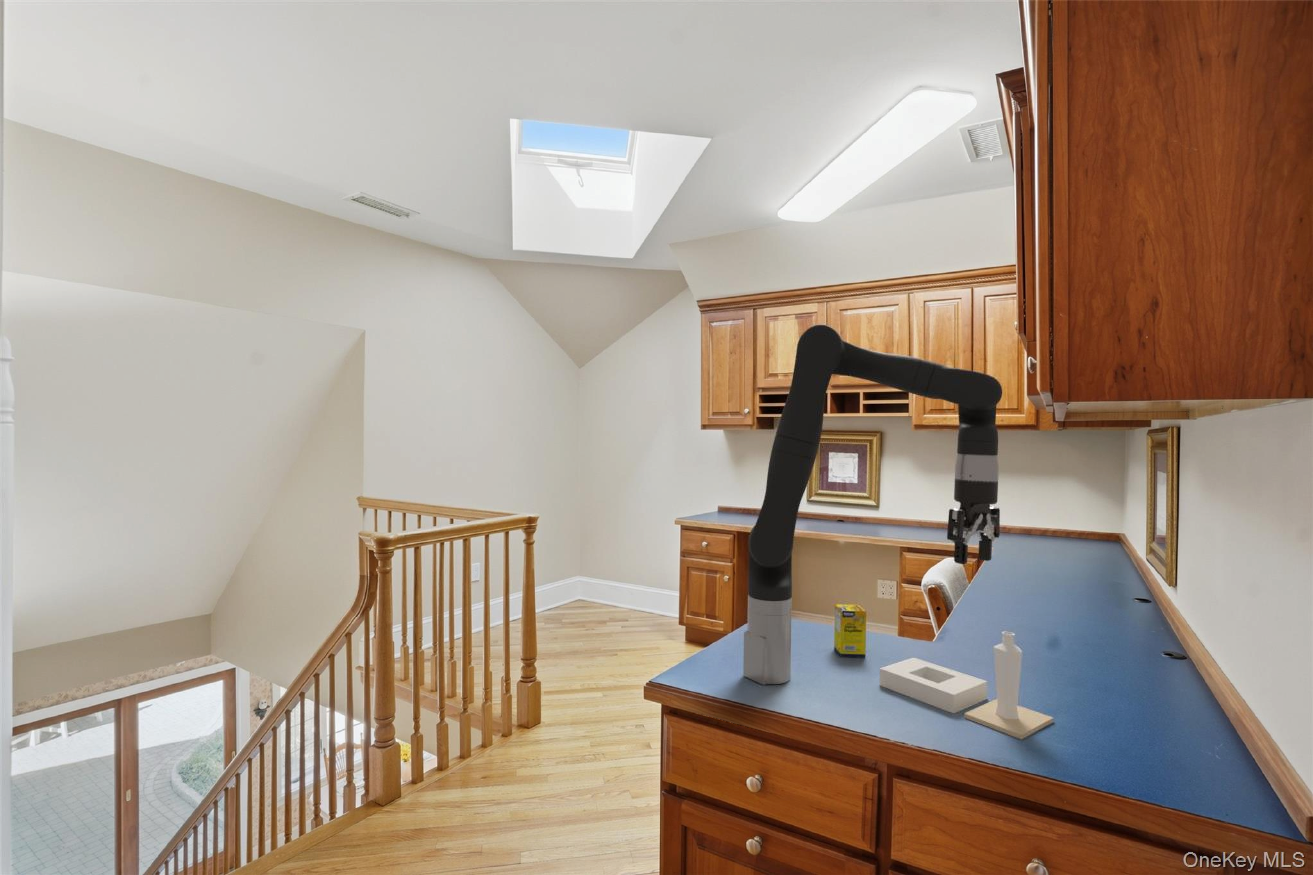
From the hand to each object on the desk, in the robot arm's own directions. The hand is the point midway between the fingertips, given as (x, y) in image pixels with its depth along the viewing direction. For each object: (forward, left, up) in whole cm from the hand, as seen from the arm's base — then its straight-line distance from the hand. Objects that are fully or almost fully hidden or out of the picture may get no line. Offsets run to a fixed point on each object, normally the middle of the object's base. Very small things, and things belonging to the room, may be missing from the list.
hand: (972, 561), depth 122 cm
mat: (-1, -8, -28) cm, 28 cm away
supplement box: (+4, +31, -28) cm, 42 cm away
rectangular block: (-1, +7, -28) cm, 28 cm away
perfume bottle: (-2, -8, -27) cm, 28 cm away
